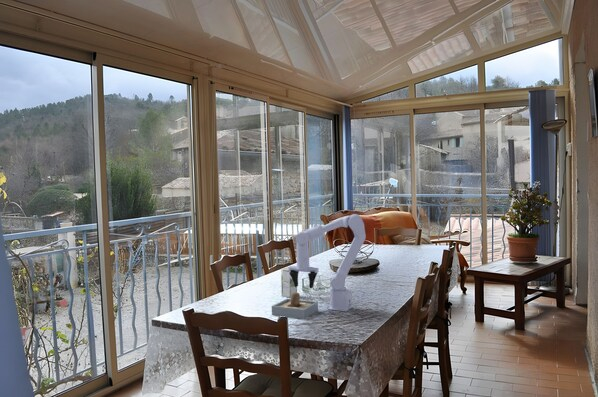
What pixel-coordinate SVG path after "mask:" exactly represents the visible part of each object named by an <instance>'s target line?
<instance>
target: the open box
mask: <svg viewBox="0 0 598 397" xmlns="http://www.w3.org/2000/svg"><path fill="white" fill-rule="evenodd" d="M290 301H291V298H285V299H283V300H281V301H279V302H277V303H275V304H273V305H271V315H272V316H279V317H284V316H287V317H286V318H293V319H301V320H305V319H307V318H308V317H310V316H312V315H314V314H315V313H317V312H319V302H318V301H313V300H312V301H311V300H305V299H300V302H302V303H311V305H310V306H308V307H306V308H304V309H298V308H289V307H281V305H283V304H285V303H287V302H290Z"/></svg>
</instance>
